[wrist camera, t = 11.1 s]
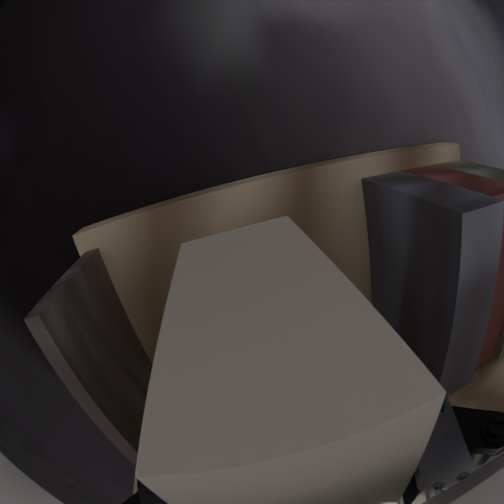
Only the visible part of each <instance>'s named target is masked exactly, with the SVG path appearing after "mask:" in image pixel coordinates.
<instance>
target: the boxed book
mask: <svg viewBox="0 0 504 504" xmlns="http://www.w3.org/2000/svg"><path fill="white" fill-rule="evenodd" d="M445 395H446V391H445V390H444V388H443V387H442V386H441V385H440V383H439V382H438V381H437V380H436V379H435V377H434V376H433V375H432V374H431V372H430V371H429V370H428V369H427V368H426V366H425V365H424V364H423V363H422V362H421V360H420V359H419V358H418V357H417V356H416V355H415V353H414V352H413V351H412V350H411V349H410V347H409V346H408V345H407V344H406V343H405V342H404V340H403V339H402V338H401V337H400V336H399V335H398V334H397V332H396V331H395V330H394V329H393V328H392V327H391V326H390V324H389V323H388V322H387V321H386V320H385V319H384V318H383V317H382V315H381V314H380V313H379V312H378V311H377V310H376V309H375V308H374V306H373V305H372V304H371V303H370V302H369V301H368V300H367V299H366V298H365V297H364V295H363V294H362V293H361V292H360V291H359V290H358V289H357V288H356V287H355V286H354V285H353V283H352V282H351V281H350V280H349V279H348V278H347V277H346V276H345V275H344V274H343V273H342V272H341V271H340V270H339V268H338V267H337V266H336V265H335V264H334V263H333V262H332V261H331V260H330V259H329V258H328V257H327V256H326V255H325V254H324V253H323V252H322V251H321V250H320V248H319V247H318V246H317V245H316V244H315V243H314V242H313V241H312V240H311V239H310V238H309V237H308V236H307V235H306V234H305V233H304V232H303V231H302V230H301V229H300V228H299V227H298V226H297V225H296V224H295V223H294V222H293V221H292V220H291V219H290V218H289V217H288V216H284V217H280V218H276V219H272V220H268V221H264V222H260V223H256V224H252V225H249V226H245V227H241V228H237V229H233V230H230V231H226V232H222V233H218V234H215V235H211V236H207V237H203V238H200V239H196V240H192V241H189V242H185V243H182V244H181V247H180V251H179V254H178V258H177V262H176V266H175V270H174V274H173V277H172V281H171V285H170V289H169V294H168V298H167V302H166V306H165V310H164V315H163V319H162V323H161V328H160V332H159V337H158V342H157V346H156V351H155V356H154V361H153V366H152V371H151V376H150V381H149V387H148V392H147V398H146V403H145V409H144V415H143V421H142V428H141V434H140V441H139V448H138V455H137V463H136V471H135V477H136V478H137V479H138V480H139V481H141V482H142V483H143V484H144V485H145V486H146V487H148V488H149V489H150V490H151V491H152V492H154V493H155V494H156V495H157V496H159V497H160V498H161V499H162V500H164V501H165V502H166V503H168V504H398V502H399V501H400V499H401V497H402V495H403V493H404V491H405V490H406V488H407V486H408V484H409V482H410V480H411V478H412V476H413V474H414V472H415V470H416V468H417V466H418V464H419V462H420V459H421V457H422V455H423V453H424V450H425V448H426V446H427V443H428V441H429V439H430V436H431V434H432V431H433V429H434V426H435V423H436V421H437V418H438V415H439V412H440V410H441V407H442V404H443V401H444V398H445Z"/></svg>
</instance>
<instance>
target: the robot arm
mask: <svg viewBox="0 0 504 504" xmlns="http://www.w3.org/2000/svg"><path fill="white" fill-rule="evenodd" d="M137 488H138V491H137V492H136V493H135V494H133V495H132V496H131V497H130V498H129V499H127V500H126V501H125V502H124V503H122V504H168V503H166V502H165V501H164V500H162V499H161V498H160V497H159V496H157V495H156V494H155V493H154V492H152V491H151V490H150V489H149V488H148V487H146V486H145V485H144V484H143V483H142V482H141V481H139V480H138V479H137ZM400 504H504V412H500V411H492V410H482V409H474V408H466V407H459V406H452V405H451V404H450V402H449V400H448V398H447V397H446V395H445V398H444V401H443V404H442V407H441V410H440V412H439V415H438V418H437V421H436V423H435V426H434V429H433V431H432V434H431V436H430V439H429V441H428V443H427V446H426V448H425V450H424V453H423V455H422V457H421V459H420V462H419V464H418V466H417V468H416V470H415V472H414V474H413V476H412V478H411V480H410V482H409V484H408V486H407V488H406V490H405V491H404V493H403V495H402V497H401V499H400Z"/></svg>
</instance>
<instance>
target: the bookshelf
mask: <svg viewBox="0 0 504 504" xmlns="http://www.w3.org/2000/svg"><path fill="white" fill-rule="evenodd" d="M284 216H288V217H289V218H290V219H291V220H292V221H293V222H294V223H295V224H296V225H297V226H298V227H299V228H300V229H301V230H302V231H303V232H304V233H305V234H306V235H307V236H308V237H309V238H310V239H311V240H312V241H313V242H314V243H315V244H316V245H317V246H318V247H319V248H320V250H321V251H322V252H323V253H324V254H325V255H326V256H327V257H328V258H329V259H330V260H331V261H332V262H333V263H334V264H335V265H336V266H337V267H338V268H339V270H340V271H341V272H342V273H343V274H344V275H345V276H346V277H347V278H348V279H349V280H350V281H351V282H352V283H353V285H354V286H355V287H356V288H357V289H358V290H359V291H360V292H361V293H362V294H363V295H364V297H365V298H366V299H367V300H368V301H369V302H370V303H371V304H372V305H373V306H374V308H375V309H376V310H377V311H378V312H379V313H380V314H381V315H382V317H383V318H384V319H385V320H386V321H387V322H388V323H389V324H390V326H391V327H392V328H393V329H394V330H395V331H396V332H397V334H398V335H399V336H400V337H401V338H402V339H403V340H404V342H405V343H406V344H407V345H408V346H409V347H410V349H411V350H412V351H413V352H414V353H415V355H416V356H417V357H418V358H419V359H420V360H421V362H422V363H423V364H424V365H425V366H426V368H427V369H428V370H429V371H430V372H431V374H432V375H433V376H434V377H435V379H436V380H437V381H438V382H439V383H440V385H441V386H442V387H443V388H444V390H445V391H446V397H447V398H448V400H449V402H450V404H451V405H452V406H459V407H466V408H474V409H482V410H492V411H500V412H504V170H502V169H498V168H494V167H489V166H485V165H480V164H475V163H471V162H466V161H461V155H460V145H459V144H458V143H449V142H439V143H431V144H423V145H416V146H409V147H402V148H395V149H389V150H382V151H376V152H370V153H364V154H359V155H353V156H348V157H342V158H337V159H332V160H327V161H322V162H317V163H312V164H307V165H302V166H298V167H293V168H289V169H284V170H280V171H275V172H271V173H267V174H262V175H258V176H254V177H250V178H246V179H242V180H238V181H234V182H230V183H226V184H222V185H219V186H215V187H211V188H207V189H204V190H200V191H197V192H193V193H189V194H186V195H182V196H179V197H176V198H172V199H169V200H165V201H162V202H159V203H156V204H152V205H149V206H146V207H143V208H140V209H136V210H133V211H130V212H127V213H124V214H121V215H118V216H115V217H112V218H109V219H106V220H103V221H100V222H97V223H95V224H92V225H89V226H86V227H83V228H82V229H80V230H79V231H78V232H77V233H75V234H74V235H73V236H72V237H73V239H74V242H75V245H76V247H77V250H78V252H79V255H80V258H79V259H78V260H77V261H76V262H75V263H74V264H73V265H72V266H71V267H70V268H69V269H68V270H67V271H66V272H65V273H64V274H63V276H62V277H61V278H60V279H59V280H58V281H57V282H56V283H55V284H54V285H53V286H52V287H51V289H50V290H49V291H48V292H47V293H46V294H45V295H44V296H43V297H42V299H41V300H40V301H39V302H38V303H37V304H36V305H35V307H34V308H33V309H32V310H31V311H30V312H29V314H28V315H27V316H26V317H25V318H24V321H25V323H26V325H27V326H28V328H29V330H30V332H31V333H32V335H33V337H34V339H35V340H36V342H37V344H38V345H39V347H40V348H41V350H42V352H43V353H44V355H45V356H46V358H47V359H48V361H49V363H50V364H51V366H52V367H53V369H54V370H55V372H56V373H57V374H58V376H59V377H60V379H61V380H62V382H63V383H64V384H65V386H66V387H67V388H68V390H69V391H70V393H71V394H72V395H73V397H74V398H75V399H76V400H77V402H78V403H79V404H80V406H81V407H82V408H83V409H84V411H85V412H86V413H87V414H88V415H89V417H90V418H91V419H92V420H93V421H94V423H95V424H96V425H97V426H98V427H99V428H100V430H101V431H102V432H103V433H104V434H105V435H106V436H107V437H108V439H109V440H110V441H111V442H112V443H113V444H114V445H115V446H116V447H117V448H118V449H119V450H120V451H121V452H122V453H123V454H124V455H125V456H126V457H127V458H128V459H129V460H130V461H131V462H132V463H133V464H134V465H135V466H136V463H137V455H138V448H139V441H140V434H141V428H142V421H143V415H144V409H145V403H146V398H147V392H148V387H149V381H150V376H151V371H152V366H153V361H154V356H155V351H156V346H157V342H158V337H159V332H160V328H161V323H162V319H163V315H164V310H165V306H166V302H167V298H168V294H169V289H170V285H171V281H172V277H173V274H174V270H175V266H176V262H177V258H178V254H179V251H180V247H181V244H182V243H185V242H189V241H192V240H196V239H200V238H203V237H207V236H211V235H215V234H218V233H222V232H226V231H230V230H233V229H237V228H241V227H245V226H249V225H252V224H256V223H260V222H264V221H268V220H272V219H276V218H280V217H284ZM137 491H138V488H137V478H136V477H135V480H134V489H133V494H135V493H136V492H137ZM398 504H400V501H399V502H398Z"/></svg>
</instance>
